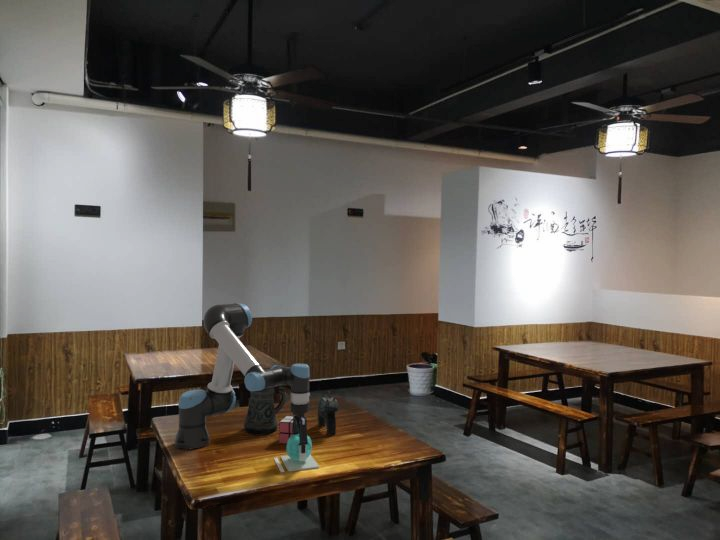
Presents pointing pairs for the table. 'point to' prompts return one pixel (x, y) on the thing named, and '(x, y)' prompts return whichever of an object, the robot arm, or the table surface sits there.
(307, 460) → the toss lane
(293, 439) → the teal rounded piece
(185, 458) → the table surface
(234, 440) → the table surface
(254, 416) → the beer stein
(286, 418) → the puzzle cube
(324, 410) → the binoculars
